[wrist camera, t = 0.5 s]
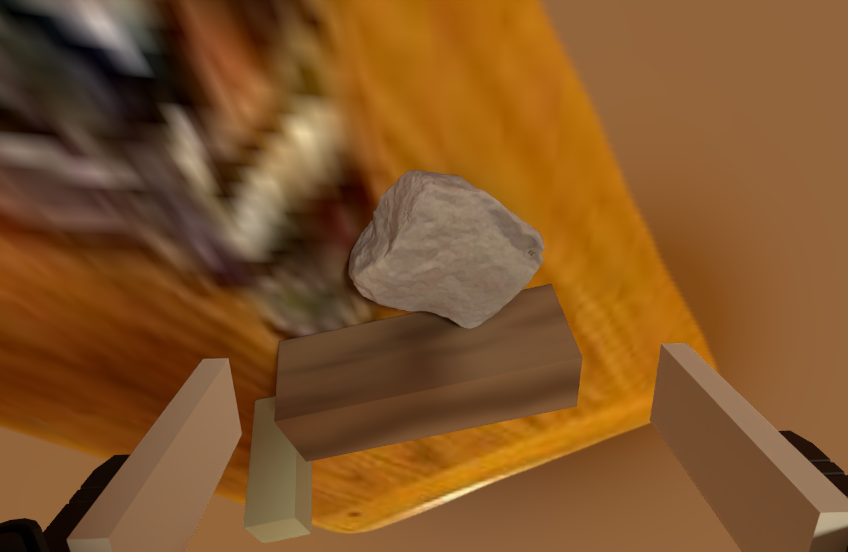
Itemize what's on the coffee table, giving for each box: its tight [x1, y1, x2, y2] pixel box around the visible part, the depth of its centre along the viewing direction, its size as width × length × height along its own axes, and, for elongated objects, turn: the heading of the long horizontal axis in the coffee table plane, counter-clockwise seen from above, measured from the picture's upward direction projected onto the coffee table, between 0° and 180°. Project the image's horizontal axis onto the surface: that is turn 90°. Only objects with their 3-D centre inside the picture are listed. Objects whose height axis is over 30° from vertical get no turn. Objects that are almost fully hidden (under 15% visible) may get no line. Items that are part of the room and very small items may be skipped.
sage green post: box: [243, 396, 312, 543], centre depth 45 cm, size 4×4×11 cm
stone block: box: [349, 171, 545, 329], centre depth 35 cm, size 12×5×10 cm
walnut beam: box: [274, 284, 582, 462], centre depth 41 cm, size 7×22×7 cm, turn 99°
